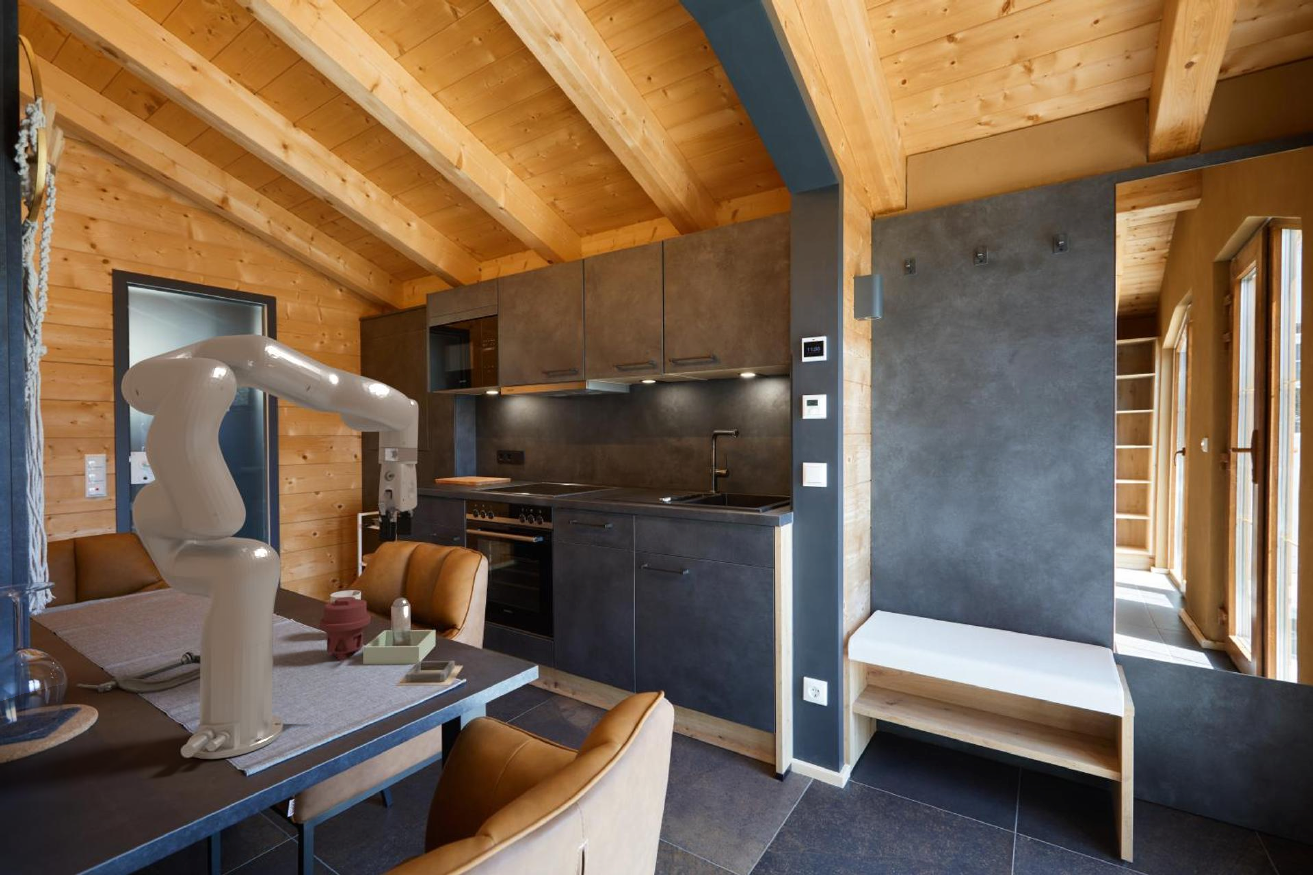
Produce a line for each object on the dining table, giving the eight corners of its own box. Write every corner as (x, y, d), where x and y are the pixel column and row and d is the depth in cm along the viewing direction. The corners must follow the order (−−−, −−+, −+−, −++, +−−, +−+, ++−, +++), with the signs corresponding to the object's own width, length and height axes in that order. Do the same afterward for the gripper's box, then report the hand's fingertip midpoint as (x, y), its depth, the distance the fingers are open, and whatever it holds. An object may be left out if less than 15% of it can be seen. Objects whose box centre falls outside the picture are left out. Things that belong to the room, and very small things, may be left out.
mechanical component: (346, 666, 130) (307, 660, 133) (380, 650, 139) (344, 645, 142) (346, 606, 130) (308, 602, 133) (380, 595, 139) (344, 591, 142)
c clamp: (128, 705, 111) (129, 690, 111) (75, 689, 118) (75, 675, 118) (242, 667, 130) (242, 654, 130) (190, 655, 137) (190, 643, 137)
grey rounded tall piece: (392, 662, 130) (391, 602, 130) (386, 655, 134) (386, 597, 134) (415, 657, 133) (415, 598, 133) (410, 651, 137) (409, 594, 137)
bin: (418, 669, 128) (419, 646, 128) (363, 669, 128) (363, 647, 128) (435, 650, 140) (435, 630, 140) (384, 650, 139) (384, 630, 139)
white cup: (366, 633, 151) (367, 592, 151) (340, 641, 145) (341, 598, 145) (350, 629, 154) (350, 588, 154) (324, 636, 149) (324, 594, 149)
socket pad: (449, 691, 118) (449, 676, 118) (395, 691, 117) (395, 677, 117) (463, 671, 128) (463, 658, 128) (413, 671, 127) (413, 658, 127)
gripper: (402, 457, 123) (399, 544, 123) (428, 456, 140) (427, 532, 140) (363, 456, 123) (360, 544, 122) (394, 456, 140) (392, 532, 140)
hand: (396, 538), depth 131 cm, fingers open, 9 cm apart
